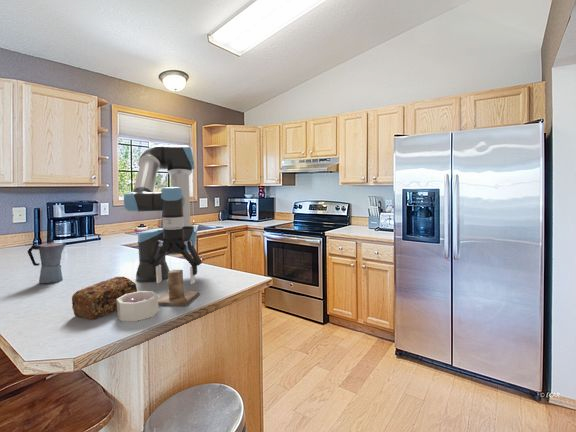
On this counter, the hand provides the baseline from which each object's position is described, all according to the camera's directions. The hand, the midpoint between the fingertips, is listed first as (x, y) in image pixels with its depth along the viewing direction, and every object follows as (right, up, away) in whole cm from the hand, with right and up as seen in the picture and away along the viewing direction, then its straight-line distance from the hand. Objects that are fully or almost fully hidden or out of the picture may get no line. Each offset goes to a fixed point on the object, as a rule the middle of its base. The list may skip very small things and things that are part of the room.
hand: (176, 282), depth 123 cm
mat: (0, -7, 0) cm, 7 cm away
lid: (0, -6, 0) cm, 6 cm away
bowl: (-8, -8, -13) cm, 17 cm away
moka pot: (-68, -5, +26) cm, 73 cm away
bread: (-22, -8, -8) cm, 25 cm away
